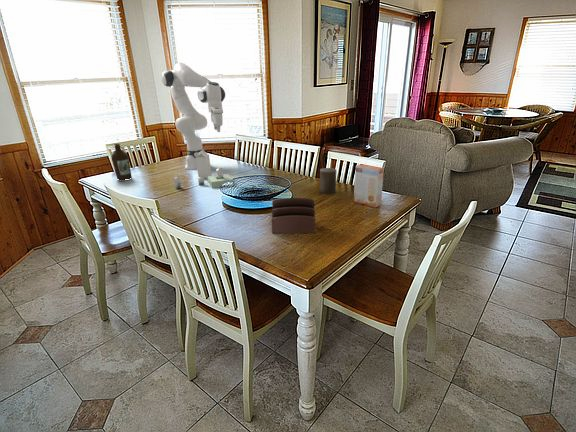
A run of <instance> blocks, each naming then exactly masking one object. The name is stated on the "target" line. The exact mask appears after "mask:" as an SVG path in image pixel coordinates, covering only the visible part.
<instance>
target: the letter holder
mask: <svg viewBox="0 0 576 432" xmlns="http://www.w3.org/2000/svg"><path fill="white" fill-rule="evenodd" d="M271 203H272V204H271V205H272V206H271V207H272V210H271V216H272V217H271V233H272V234H315V233H316V221H317V220H316V210H315V205H316V204H315V200H314V199H313V198H308V197H307V198H305V197H284V198H277V199H273V200H272V202H271Z"/></svg>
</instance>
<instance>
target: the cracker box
mask: <svg viewBox="0 0 576 432" xmlns="http://www.w3.org/2000/svg"><path fill="white" fill-rule="evenodd" d="M384 170H385V167H381V166H380V167H379V166H374V165H370V164H369V165H368V164H364V163H360V164H358V165H355V174H354V175H355V176H354V190H353V191H354V193H353V202H354V203H356V202H357V203H356V204H360V205H363V204H364V206H367V207H371V208H374V209H376V208H378V207H379V206H381V205H382V195H383V186H384V185H383V184H384V183H383V182H384V174H385V173H384V172H385V171H384Z"/></svg>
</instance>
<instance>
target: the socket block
mask: <svg viewBox="0 0 576 432" xmlns="http://www.w3.org/2000/svg"><path fill="white" fill-rule="evenodd" d="M222 174H223V179H217V174H216V175H211V176H208V178H207V181H208V183H209V186H210V187H211V188H212V189H215V188H221V187H220V186H221V185H222V184H224V183H227V182H233V183H234V178H233V177H232V176H230V174H229V173H222Z"/></svg>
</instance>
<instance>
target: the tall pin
mask: <svg viewBox="0 0 576 432" xmlns="http://www.w3.org/2000/svg"><path fill="white" fill-rule="evenodd" d="M223 174H224V173H223V168H221V167H219V168H216V175H217V179H223Z"/></svg>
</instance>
